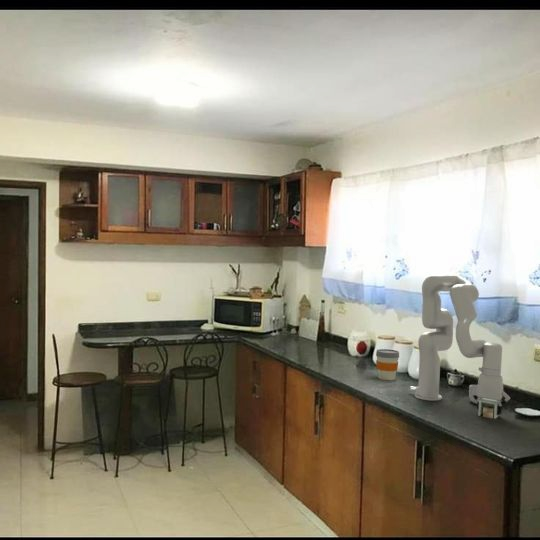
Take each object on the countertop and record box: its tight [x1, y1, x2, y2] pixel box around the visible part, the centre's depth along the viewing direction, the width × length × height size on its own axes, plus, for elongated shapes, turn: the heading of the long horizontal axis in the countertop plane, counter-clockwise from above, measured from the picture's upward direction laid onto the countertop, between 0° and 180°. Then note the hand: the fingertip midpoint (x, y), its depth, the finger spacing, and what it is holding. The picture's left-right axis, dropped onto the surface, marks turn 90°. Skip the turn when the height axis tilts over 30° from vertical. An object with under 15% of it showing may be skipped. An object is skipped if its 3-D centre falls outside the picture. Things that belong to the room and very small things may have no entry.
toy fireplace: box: [477, 398, 500, 420], centre depth 247 cm, size 7×6×6 cm
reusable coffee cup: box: [375, 348, 400, 381], centre depth 315 cm, size 13×12×15 cm
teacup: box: [468, 384, 478, 405], centre depth 267 cm, size 14×11×8 cm
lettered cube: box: [482, 406, 495, 419], centre depth 246 cm, size 4×4×4 cm
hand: (488, 412), depth 247 cm, fingers closed on toy fireplace, 7 cm apart
